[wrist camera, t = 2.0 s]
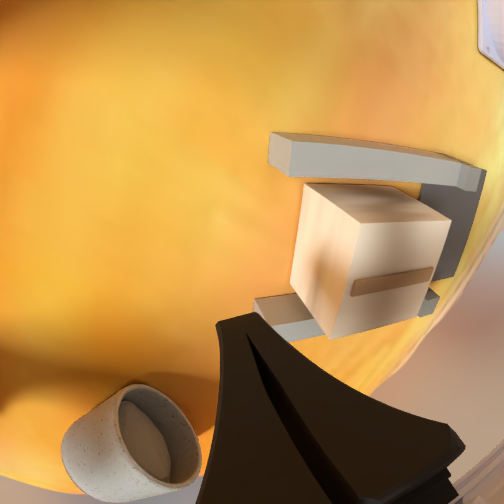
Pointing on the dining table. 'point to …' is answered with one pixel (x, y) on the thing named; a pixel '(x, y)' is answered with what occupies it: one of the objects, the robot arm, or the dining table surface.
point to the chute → (357, 167)
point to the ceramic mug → (132, 447)
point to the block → (364, 255)
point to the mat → (462, 215)
